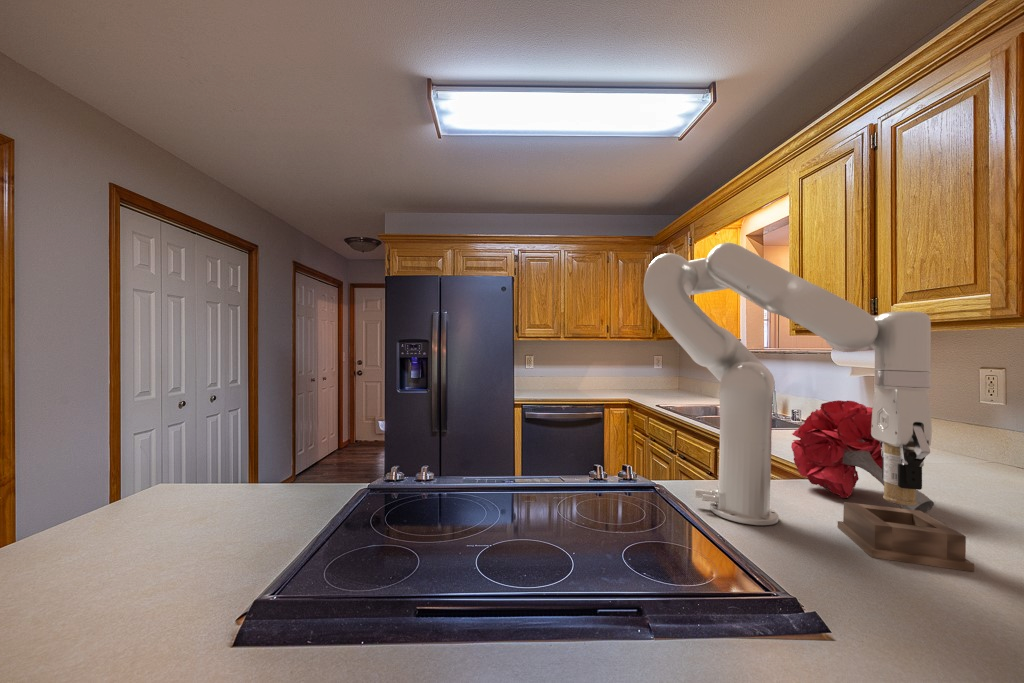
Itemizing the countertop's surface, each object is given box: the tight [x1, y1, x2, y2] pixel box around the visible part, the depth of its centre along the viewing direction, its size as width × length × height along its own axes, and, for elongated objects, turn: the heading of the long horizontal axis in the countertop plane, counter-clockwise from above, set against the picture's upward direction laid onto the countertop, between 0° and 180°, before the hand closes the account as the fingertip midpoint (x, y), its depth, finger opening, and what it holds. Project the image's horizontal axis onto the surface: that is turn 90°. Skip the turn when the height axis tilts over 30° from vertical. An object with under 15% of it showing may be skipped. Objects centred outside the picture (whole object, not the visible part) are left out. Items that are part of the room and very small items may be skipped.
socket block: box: [837, 501, 975, 573], centre depth 79 cm, size 14×14×5 cm
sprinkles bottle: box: [882, 443, 917, 506], centre depth 79 cm, size 5×5×14 cm
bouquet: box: [791, 400, 935, 514], centre depth 106 cm, size 22×24×30 cm
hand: (901, 483), depth 79 cm, fingers closed on sprinkles bottle, 4 cm apart
